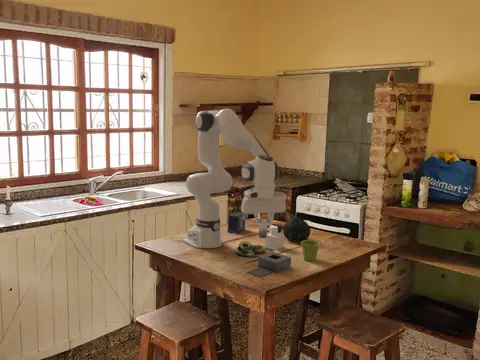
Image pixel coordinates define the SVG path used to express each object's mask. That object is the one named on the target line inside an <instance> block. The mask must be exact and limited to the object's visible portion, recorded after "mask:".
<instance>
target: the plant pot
mask: <svg viewBox="0 0 480 360" xmlns="http://www.w3.org/2000/svg"><path fill="white" fill-rule="evenodd" d="M300 244H301V247H302V258H303V260H304V261H306V262H315V261H316V260H317V256H318V255H317V254H318V251H319V248H320V246H321V243H320V241H317V240H314V239H306V240H304V241H302V242H300Z"/></svg>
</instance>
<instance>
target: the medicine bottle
mask: <svg viewBox="0 0 480 360" xmlns="http://www.w3.org/2000/svg"><path fill="white" fill-rule="evenodd" d="M265 247H267V248H268V249H272V250H274V251H277V250H281V249H282V248H283V249H284V248H285V236H284V233H283V234H282V226H281V225H279V224H272V225H271V226H269V233H267V238H265Z"/></svg>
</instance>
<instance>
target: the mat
mask: <svg viewBox="0 0 480 360" xmlns="http://www.w3.org/2000/svg"><path fill="white" fill-rule="evenodd" d="M246 273H248V274H251V275H253V276H256V277H259V278H262V277H265V276H268V275H270V274H272V273H273V272H271V271H268V270H265V269H262V268H260V267H256V268H253V269H251V270H248V271H246Z"/></svg>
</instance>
